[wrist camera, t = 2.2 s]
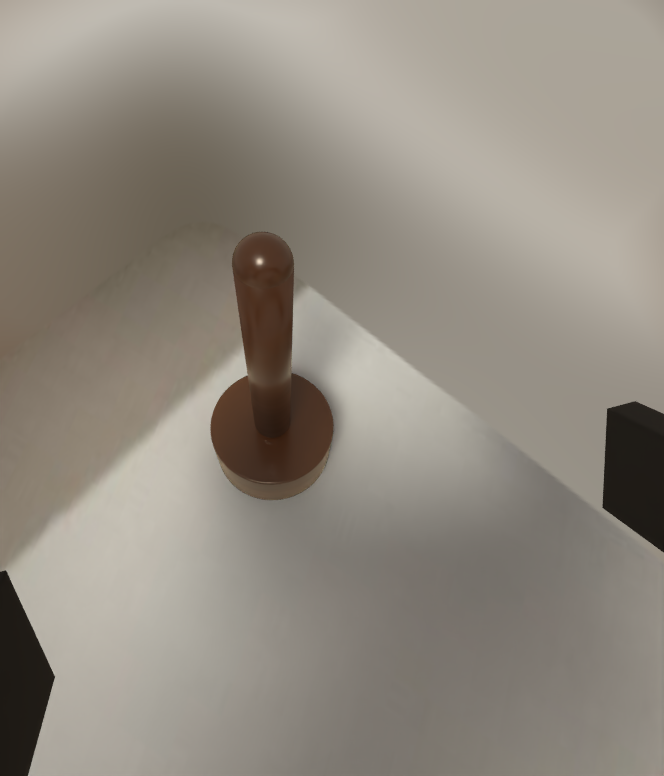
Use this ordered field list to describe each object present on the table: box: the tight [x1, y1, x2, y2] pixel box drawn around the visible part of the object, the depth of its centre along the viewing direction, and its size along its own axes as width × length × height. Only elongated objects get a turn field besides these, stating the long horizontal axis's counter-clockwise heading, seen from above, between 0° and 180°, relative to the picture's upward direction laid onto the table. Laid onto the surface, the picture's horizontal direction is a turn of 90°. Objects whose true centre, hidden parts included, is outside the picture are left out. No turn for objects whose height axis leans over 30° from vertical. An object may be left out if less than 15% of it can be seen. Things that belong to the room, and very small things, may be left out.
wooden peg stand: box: [211, 232, 334, 500], centre depth 20 cm, size 6×6×15 cm
